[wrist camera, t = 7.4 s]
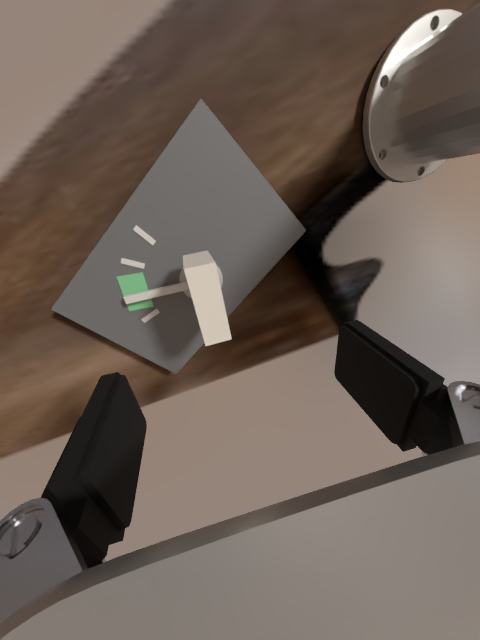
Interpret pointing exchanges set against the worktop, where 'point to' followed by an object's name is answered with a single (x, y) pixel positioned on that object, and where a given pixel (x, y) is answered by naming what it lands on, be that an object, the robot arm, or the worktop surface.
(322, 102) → the worktop surface
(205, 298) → the door lever handle
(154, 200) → the dial board
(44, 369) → the worktop surface
